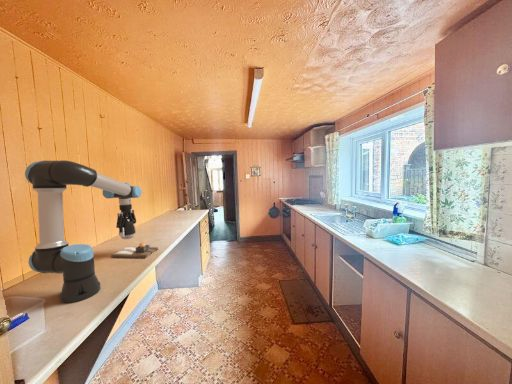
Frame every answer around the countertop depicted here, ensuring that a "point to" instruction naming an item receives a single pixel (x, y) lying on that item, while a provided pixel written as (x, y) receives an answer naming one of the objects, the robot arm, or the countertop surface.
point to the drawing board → (135, 252)
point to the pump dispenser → (128, 229)
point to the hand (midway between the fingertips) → (127, 234)
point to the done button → (142, 245)
